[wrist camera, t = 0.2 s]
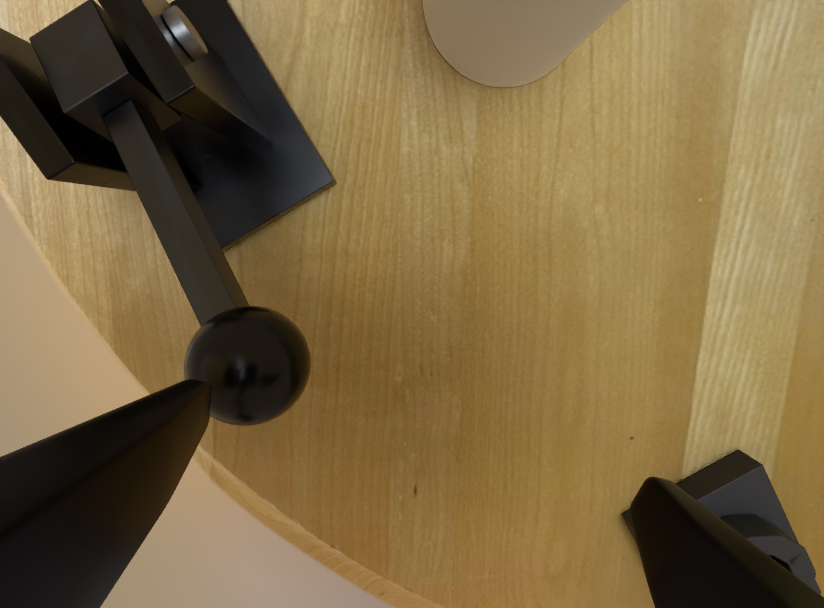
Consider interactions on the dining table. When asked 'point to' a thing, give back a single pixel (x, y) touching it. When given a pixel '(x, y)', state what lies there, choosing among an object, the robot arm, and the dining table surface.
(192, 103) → the switch
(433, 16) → the mug
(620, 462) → the dining table surface
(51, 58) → the lever
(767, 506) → the button box
